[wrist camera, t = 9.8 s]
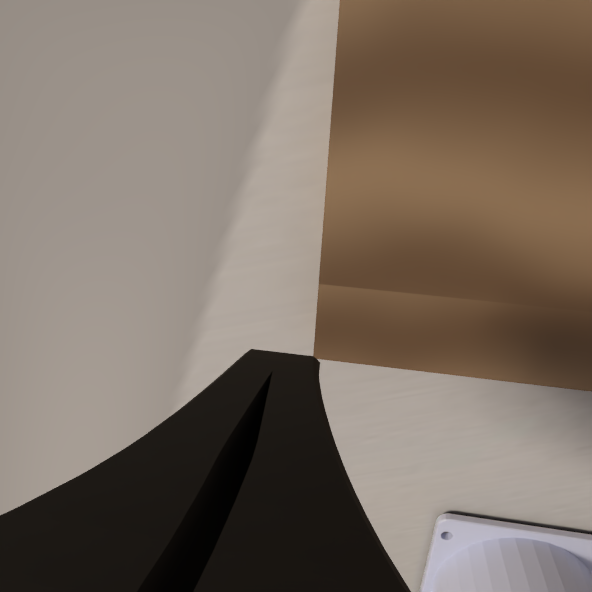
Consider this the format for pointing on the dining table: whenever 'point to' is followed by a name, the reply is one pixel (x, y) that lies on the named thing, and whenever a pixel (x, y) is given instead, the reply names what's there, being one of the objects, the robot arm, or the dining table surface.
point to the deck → (461, 190)
